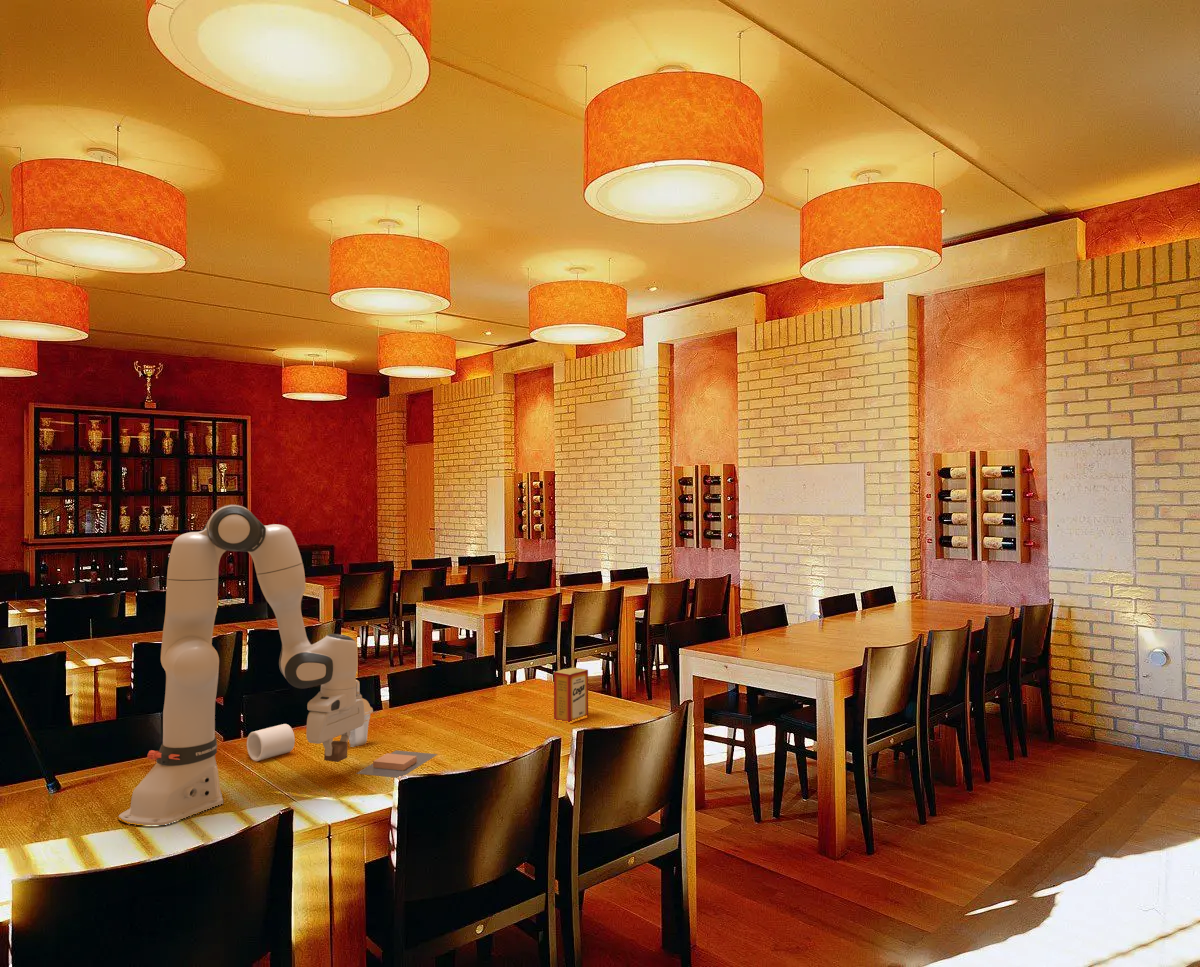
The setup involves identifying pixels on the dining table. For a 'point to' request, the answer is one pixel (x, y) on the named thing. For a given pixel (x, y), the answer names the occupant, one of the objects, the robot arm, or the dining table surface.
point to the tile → (394, 761)
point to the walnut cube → (338, 751)
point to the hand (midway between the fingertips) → (335, 752)
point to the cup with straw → (360, 734)
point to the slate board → (396, 773)
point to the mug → (270, 742)
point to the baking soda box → (570, 694)
